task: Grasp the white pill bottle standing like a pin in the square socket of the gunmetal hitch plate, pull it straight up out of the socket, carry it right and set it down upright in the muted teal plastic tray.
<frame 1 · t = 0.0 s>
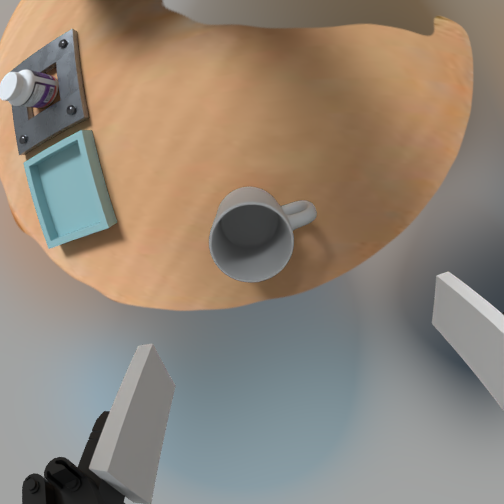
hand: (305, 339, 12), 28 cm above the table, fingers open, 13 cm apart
hitch plate: (46, 91, 30), on the table
mug: (261, 212, 39), on the table
tray: (71, 189, 36), on the table
pill bottle: (47, 92, 30), resting in hitch plate
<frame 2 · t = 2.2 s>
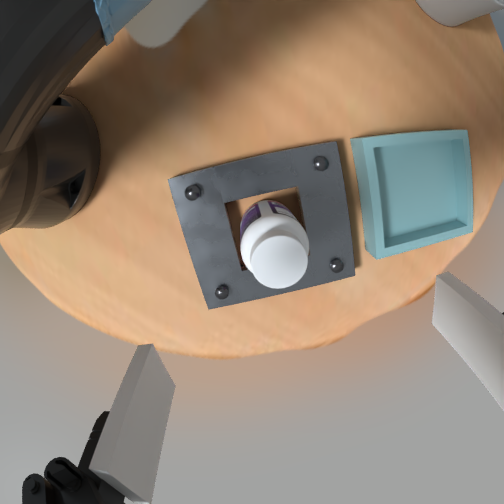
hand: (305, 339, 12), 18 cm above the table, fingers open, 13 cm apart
hitch plate: (267, 225, 29), on the table
tray: (414, 185, 28), on the table
pill bottle: (267, 225, 29), resting in hitch plate
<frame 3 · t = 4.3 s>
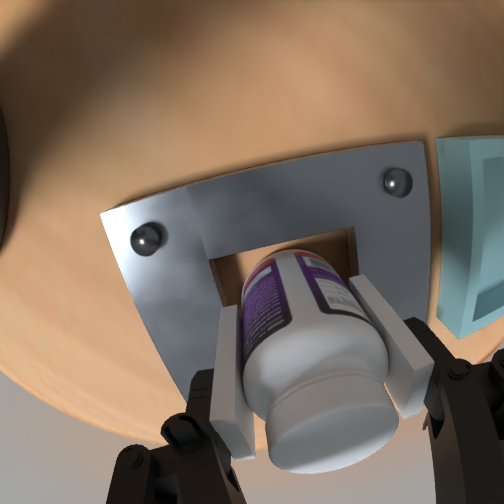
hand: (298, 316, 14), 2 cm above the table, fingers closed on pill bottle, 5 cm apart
hitch plate: (291, 293, 16), on the table
pill bottle: (290, 291, 16), resting in hitch plate, touching gripper
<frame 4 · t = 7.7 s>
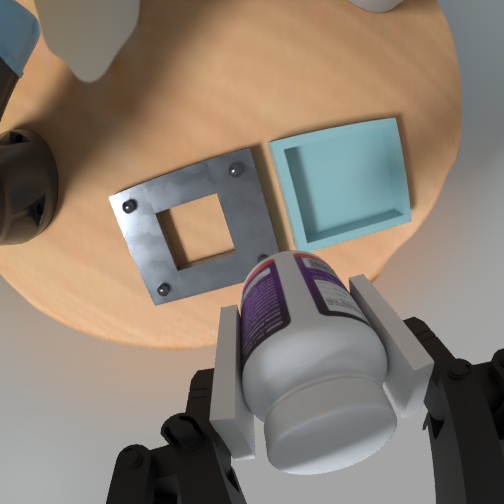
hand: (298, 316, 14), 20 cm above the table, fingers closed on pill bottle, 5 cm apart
hitch plate: (197, 229, 32), on the table
tray: (341, 179, 31), on the table
pill bottle: (289, 292, 16), point 17 cm above the table, touching gripper
when the fingers open (5 cm above the table, at t = 11.2 s): pill bottle drops 2 cm, resting on tray.
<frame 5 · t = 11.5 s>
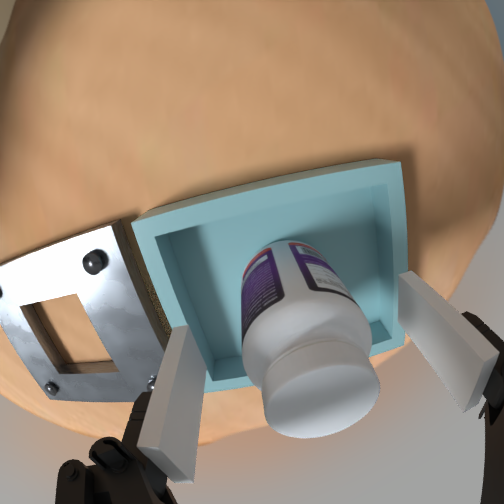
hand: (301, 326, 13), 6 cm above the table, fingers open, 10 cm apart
hitch plate: (73, 329, 19), on the table
tray: (284, 274, 18), on the table
pill bottle: (285, 279, 18), point 1 cm above the table, touching tray
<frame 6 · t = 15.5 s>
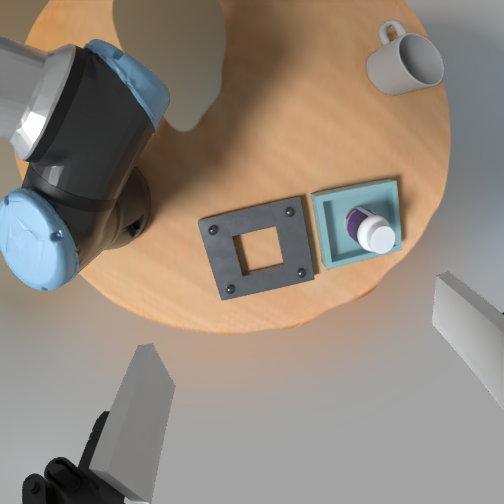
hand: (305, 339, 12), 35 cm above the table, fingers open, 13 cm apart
hitch plate: (258, 248, 47), on the table
mug: (383, 63, 37), on the table
tray: (356, 220, 46), on the table
pill bottle: (357, 221, 45), point 1 cm above the table, touching tray
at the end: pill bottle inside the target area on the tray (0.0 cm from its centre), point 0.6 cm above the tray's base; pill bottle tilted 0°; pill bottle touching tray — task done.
